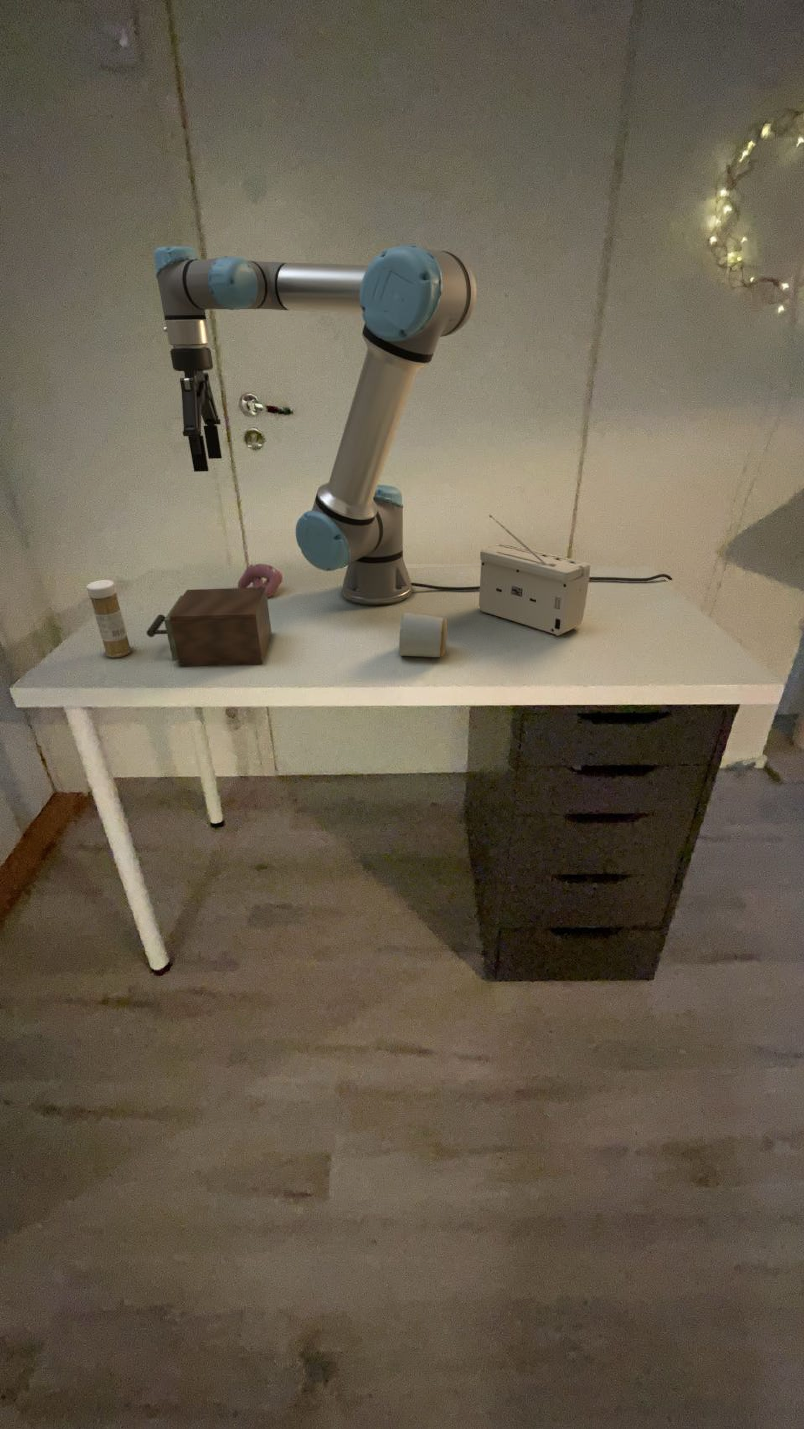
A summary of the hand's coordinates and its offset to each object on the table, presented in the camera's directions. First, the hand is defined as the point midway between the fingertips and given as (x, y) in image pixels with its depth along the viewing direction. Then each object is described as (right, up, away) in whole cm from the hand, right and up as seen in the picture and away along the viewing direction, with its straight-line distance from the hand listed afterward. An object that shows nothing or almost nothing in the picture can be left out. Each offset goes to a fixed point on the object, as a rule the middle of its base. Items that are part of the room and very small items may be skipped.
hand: (208, 464), depth 135 cm
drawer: (+4, -39, -15) cm, 42 cm away
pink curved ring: (+8, -24, +12) cm, 28 cm away
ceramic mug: (+44, -40, -15) cm, 62 cm away
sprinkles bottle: (-12, -41, -14) cm, 45 cm away
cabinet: (+8, -40, -14) cm, 43 cm away
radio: (+65, -33, -4) cm, 73 cm away
